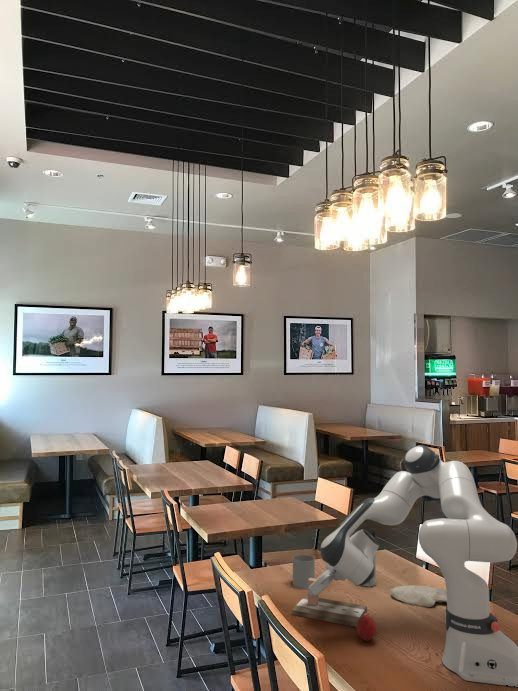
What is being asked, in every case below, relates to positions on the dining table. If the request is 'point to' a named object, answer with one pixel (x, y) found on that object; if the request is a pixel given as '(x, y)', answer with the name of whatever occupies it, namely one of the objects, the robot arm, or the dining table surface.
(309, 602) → the stub
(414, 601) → the fragment
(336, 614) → the board with dashed strip
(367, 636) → the onion
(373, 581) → the spray can
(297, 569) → the cup
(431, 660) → the dining table surface
